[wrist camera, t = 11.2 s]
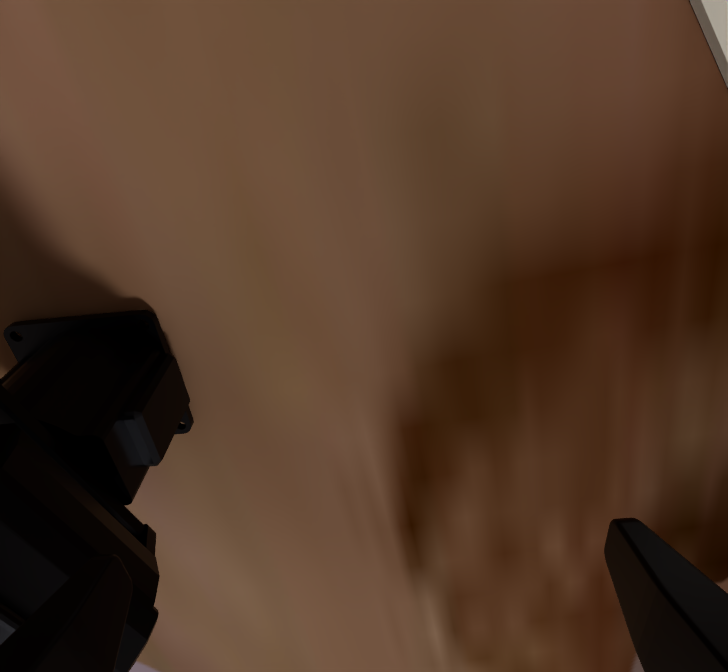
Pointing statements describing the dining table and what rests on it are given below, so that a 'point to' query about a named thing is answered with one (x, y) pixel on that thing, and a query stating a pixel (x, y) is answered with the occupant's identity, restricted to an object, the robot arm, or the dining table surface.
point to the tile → (715, 29)
